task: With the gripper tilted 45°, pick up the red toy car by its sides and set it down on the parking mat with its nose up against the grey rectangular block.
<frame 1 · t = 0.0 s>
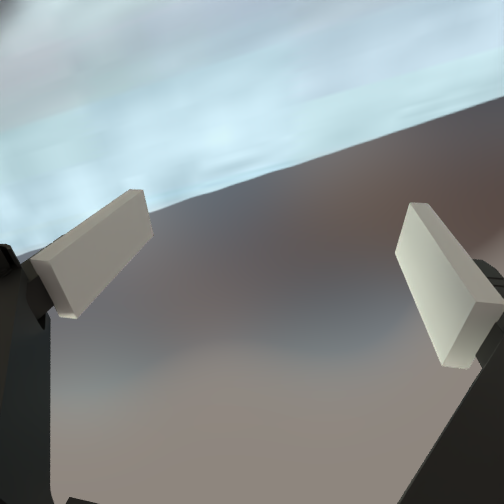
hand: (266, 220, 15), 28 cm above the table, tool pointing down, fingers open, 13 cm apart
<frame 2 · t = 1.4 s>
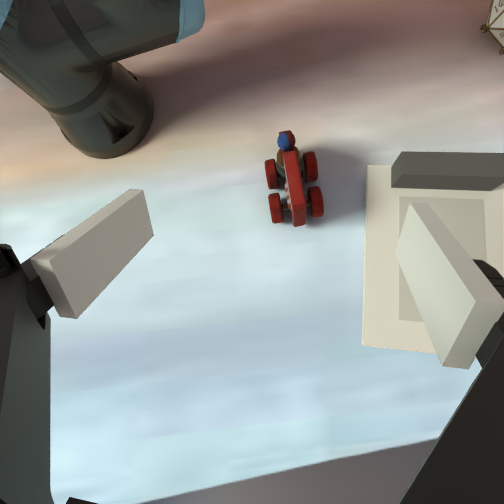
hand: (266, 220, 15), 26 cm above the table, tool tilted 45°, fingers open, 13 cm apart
parking mat: (437, 256, 38), on the table
red toy car: (292, 193, 42), on the table
geodesic ball: (498, 38, 43), on the table
grey rectangular block: (439, 178, 39), resting on parking mat
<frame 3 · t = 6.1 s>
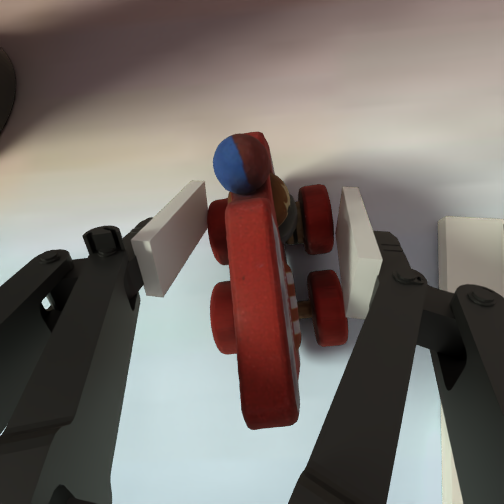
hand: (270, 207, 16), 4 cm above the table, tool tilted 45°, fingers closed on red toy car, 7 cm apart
red toy car: (276, 270, 19), on the table, touching gripper
when the fingers open (5 cm above the table, at t = 11.9 s): red toy car stays where it is, resting on parking mat.
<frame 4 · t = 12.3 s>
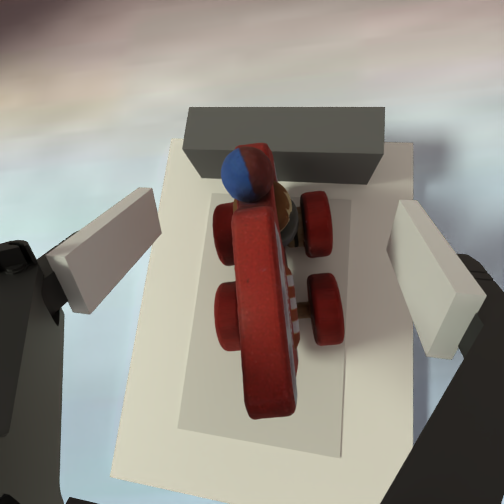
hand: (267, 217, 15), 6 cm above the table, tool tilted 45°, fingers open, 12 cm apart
parking mat: (269, 302, 21), on the table
red toy car: (277, 272, 20), point 1 cm above the table, touching parking mat
grey rectangular block: (282, 162, 22), resting on parking mat
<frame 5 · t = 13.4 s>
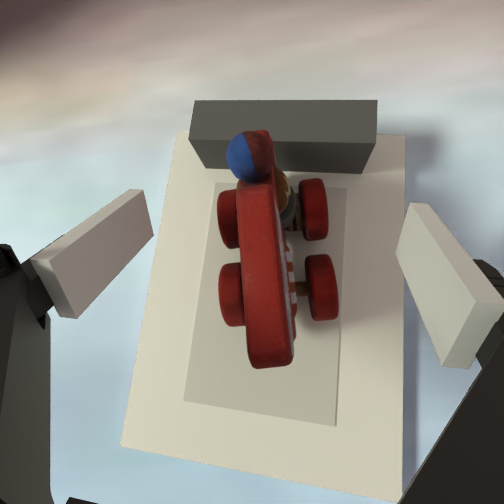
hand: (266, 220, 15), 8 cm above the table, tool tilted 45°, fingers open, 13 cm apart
parking mat: (270, 284, 22), on the table
red toy car: (276, 255, 21), point 1 cm above the table, touching parking mat
grey rectangular block: (282, 153, 23), resting on parking mat
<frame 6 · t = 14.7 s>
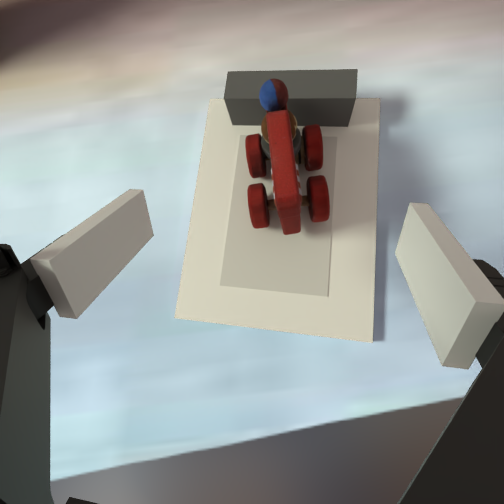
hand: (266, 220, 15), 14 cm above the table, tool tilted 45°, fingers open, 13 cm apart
parking mat: (281, 208, 30), on the table
red toy car: (286, 185, 29), point 1 cm above the table, touching parking mat
grey rectangular block: (289, 113, 31), resting on parking mat
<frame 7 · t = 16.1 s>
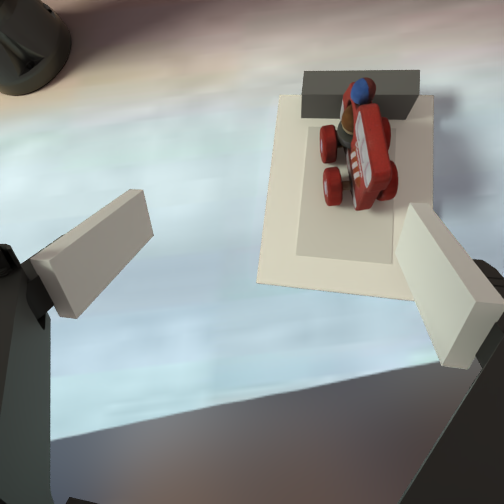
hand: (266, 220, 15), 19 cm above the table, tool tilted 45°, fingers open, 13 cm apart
parking mat: (345, 190, 34), on the table
red toy car: (351, 170, 34), point 1 cm above the table, touching parking mat
grey rectangular block: (352, 108, 35), resting on parking mat
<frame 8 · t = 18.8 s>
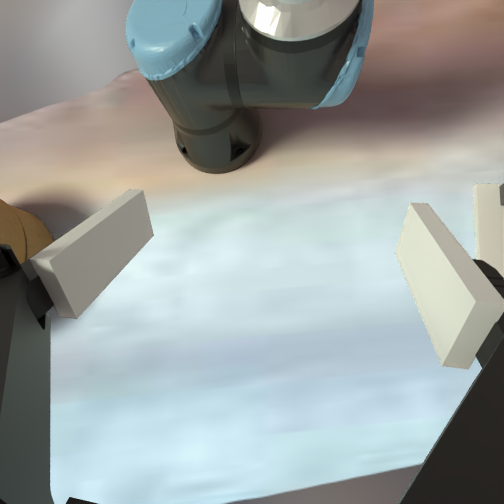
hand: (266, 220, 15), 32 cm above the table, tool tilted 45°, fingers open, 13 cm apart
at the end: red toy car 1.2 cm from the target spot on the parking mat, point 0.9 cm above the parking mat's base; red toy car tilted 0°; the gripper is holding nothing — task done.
